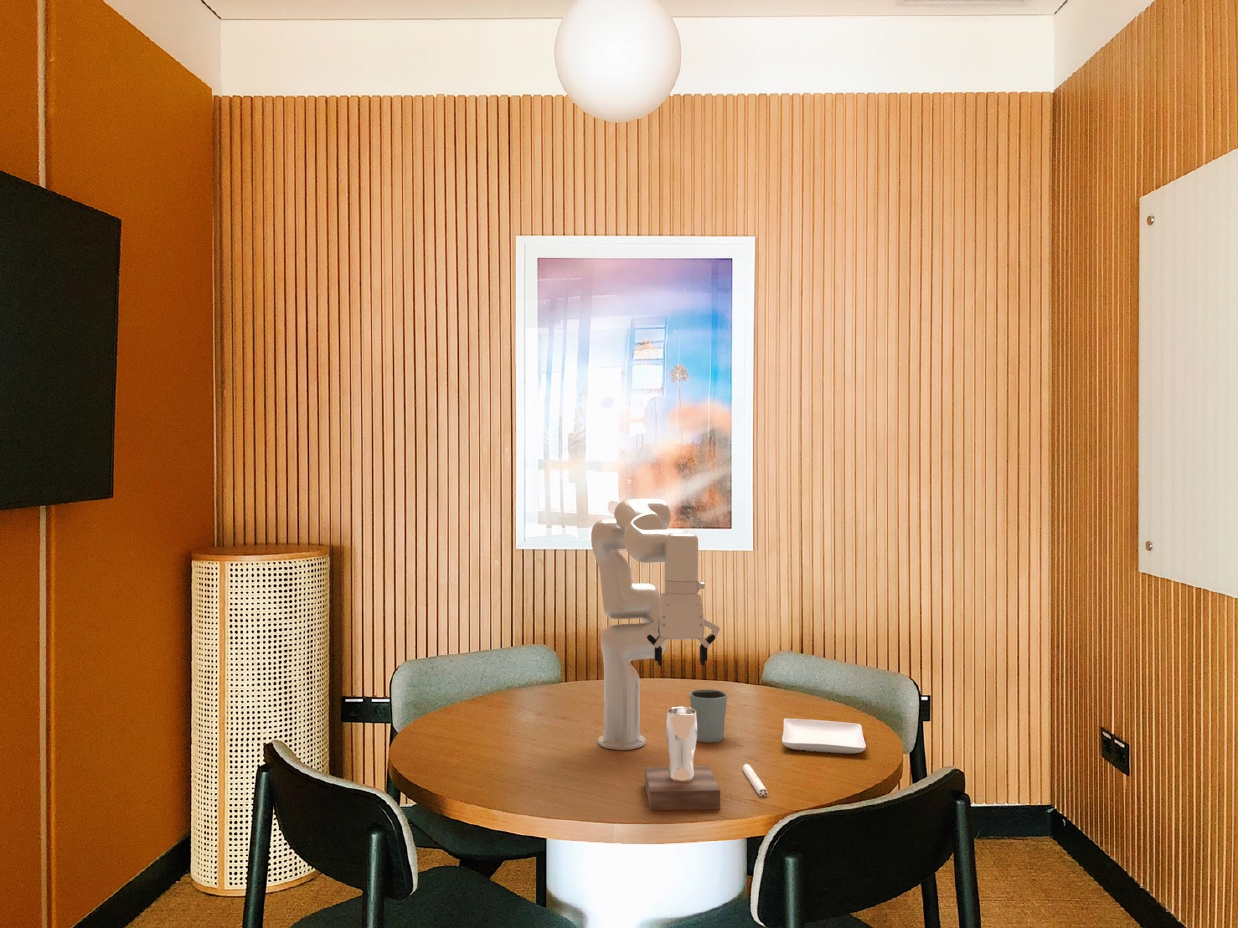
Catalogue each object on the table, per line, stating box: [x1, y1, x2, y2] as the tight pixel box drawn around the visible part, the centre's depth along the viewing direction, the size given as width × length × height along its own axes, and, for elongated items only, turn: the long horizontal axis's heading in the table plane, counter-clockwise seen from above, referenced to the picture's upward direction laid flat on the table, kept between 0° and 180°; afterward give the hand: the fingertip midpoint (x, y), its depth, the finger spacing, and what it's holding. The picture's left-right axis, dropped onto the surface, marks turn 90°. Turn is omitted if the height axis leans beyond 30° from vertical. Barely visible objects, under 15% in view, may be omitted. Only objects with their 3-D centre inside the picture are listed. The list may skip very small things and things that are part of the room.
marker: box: [742, 763, 769, 797], centre depth 198 cm, size 18×2×2 cm, turn 5°
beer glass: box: [665, 706, 697, 783], centre depth 190 cm, size 7×7×15 cm
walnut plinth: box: [644, 765, 721, 811], centre depth 189 cm, size 15×15×4 cm
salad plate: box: [781, 717, 867, 755], centre depth 228 cm, size 21×21×3 cm
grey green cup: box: [689, 689, 728, 743], centre depth 232 cm, size 10×10×12 cm
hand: (680, 664), depth 190 cm, fingers open, 9 cm apart
